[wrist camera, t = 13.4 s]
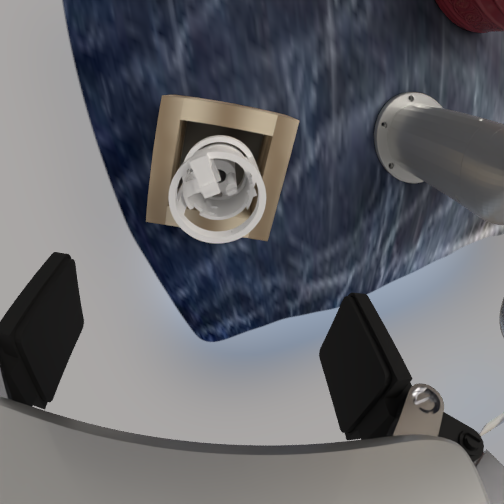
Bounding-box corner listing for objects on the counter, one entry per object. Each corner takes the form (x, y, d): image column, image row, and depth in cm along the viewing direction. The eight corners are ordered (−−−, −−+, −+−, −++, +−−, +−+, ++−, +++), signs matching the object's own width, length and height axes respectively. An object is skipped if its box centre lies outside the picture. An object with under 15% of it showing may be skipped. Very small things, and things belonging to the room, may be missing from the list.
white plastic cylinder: (239, 119, 32) (248, 139, 19) (260, 176, 35) (280, 232, 22) (180, 142, 33) (149, 178, 20) (203, 196, 36) (190, 262, 23)
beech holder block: (285, 114, 33) (299, 120, 27) (260, 215, 39) (267, 241, 33) (174, 94, 31) (162, 95, 25) (159, 198, 37) (145, 221, 31)
